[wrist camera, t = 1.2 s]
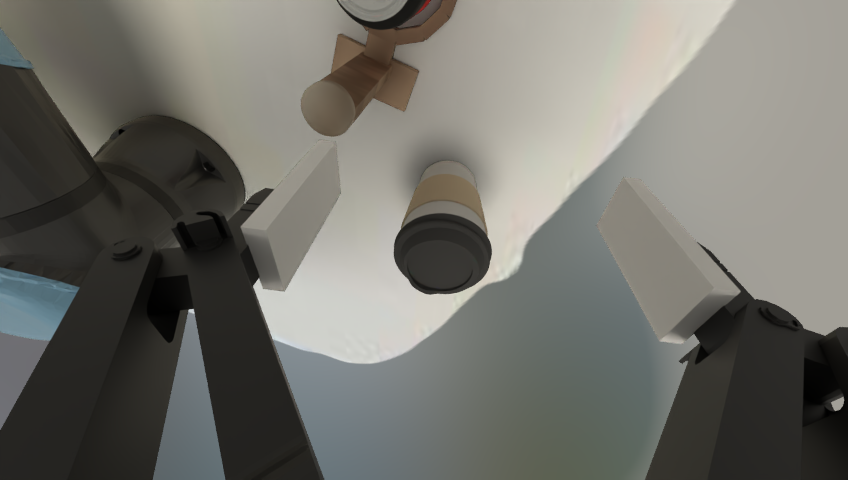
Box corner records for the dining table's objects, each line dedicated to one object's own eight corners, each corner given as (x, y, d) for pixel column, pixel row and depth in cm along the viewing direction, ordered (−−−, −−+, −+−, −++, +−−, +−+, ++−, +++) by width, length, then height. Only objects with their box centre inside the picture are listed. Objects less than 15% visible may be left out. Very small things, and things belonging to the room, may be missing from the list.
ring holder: (322, 72, 32) (243, 122, 21) (359, -152, 22) (249, -290, 11) (414, 113, 34) (388, 180, 22) (486, -79, 24) (505, -132, 13)
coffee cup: (442, 135, 35) (430, 211, 23) (500, 181, 38) (516, 270, 26) (398, 190, 40) (370, 274, 28) (452, 227, 43) (447, 317, 31)
